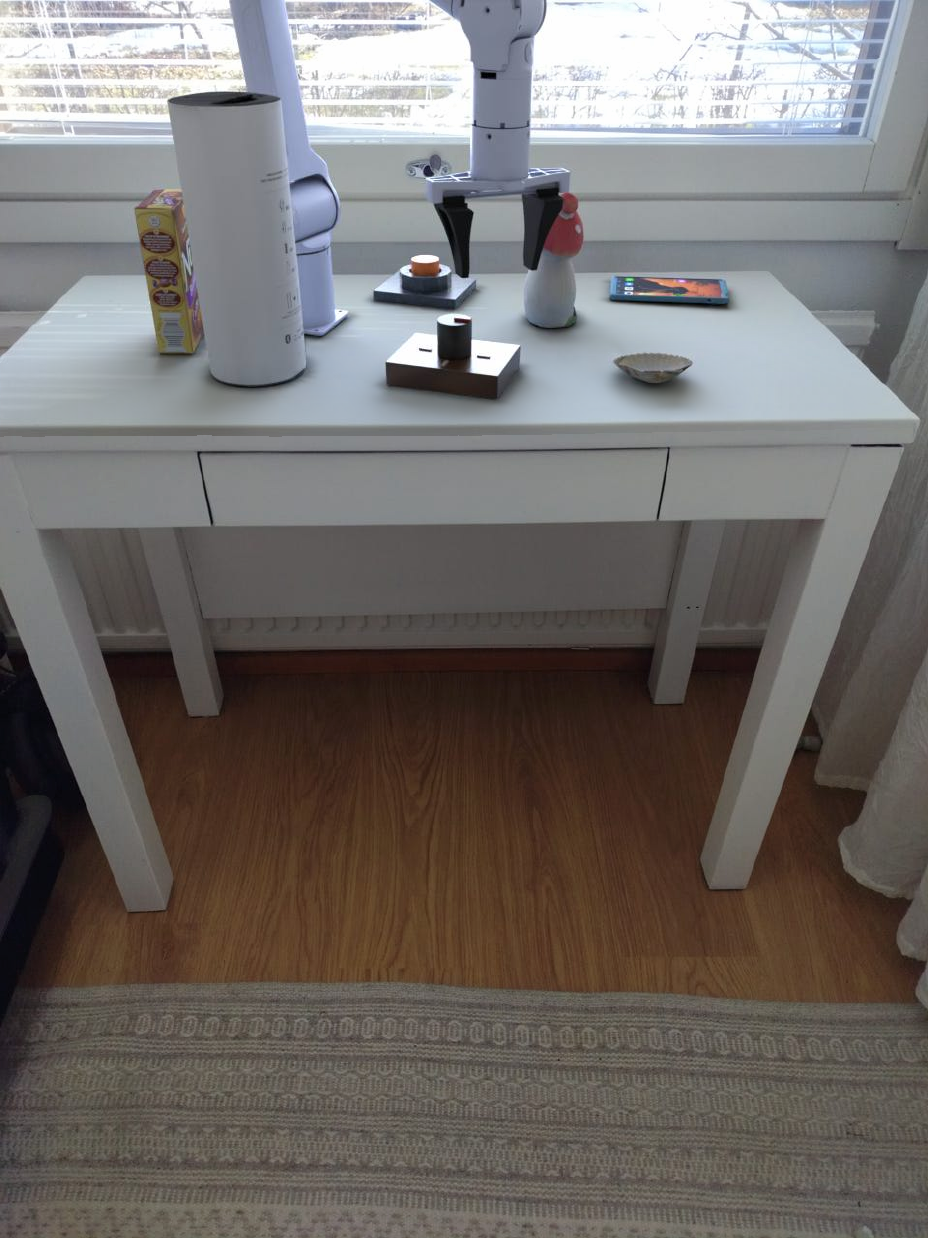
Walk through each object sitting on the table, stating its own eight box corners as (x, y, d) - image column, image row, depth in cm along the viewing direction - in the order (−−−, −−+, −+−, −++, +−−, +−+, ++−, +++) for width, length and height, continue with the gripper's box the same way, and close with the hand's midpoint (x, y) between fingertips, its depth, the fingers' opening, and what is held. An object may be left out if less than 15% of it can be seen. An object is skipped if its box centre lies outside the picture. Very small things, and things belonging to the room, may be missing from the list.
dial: (432, 356, 95) (431, 320, 93) (443, 344, 98) (443, 309, 96) (465, 360, 94) (465, 324, 92) (475, 348, 97) (476, 312, 95)
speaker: (256, 344, 105) (221, 81, 89) (329, 362, 100) (306, 89, 85) (189, 375, 97) (138, 94, 82) (265, 396, 93) (227, 103, 77)
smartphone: (611, 275, 124) (725, 278, 122) (610, 285, 125) (724, 289, 123) (609, 292, 117) (730, 295, 115) (608, 302, 118) (728, 306, 116)
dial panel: (386, 384, 96) (385, 360, 94) (415, 354, 103) (415, 330, 101) (497, 399, 93) (497, 374, 91) (519, 367, 100) (520, 343, 98)
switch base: (373, 299, 117) (372, 275, 116) (398, 279, 124) (397, 256, 123) (455, 308, 115) (455, 284, 113) (476, 287, 122) (476, 264, 120)
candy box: (197, 354, 102) (172, 207, 93) (158, 355, 102) (128, 208, 93) (212, 326, 109) (189, 187, 100) (175, 327, 109) (150, 187, 100)
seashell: (676, 381, 101) (607, 361, 101) (687, 354, 100) (617, 333, 99) (688, 399, 94) (614, 378, 93) (699, 370, 93) (624, 348, 92)
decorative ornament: (578, 334, 108) (589, 196, 99) (522, 332, 108) (529, 195, 99) (574, 307, 115) (584, 178, 106) (522, 306, 116) (528, 177, 107)
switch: (407, 275, 117) (407, 261, 116) (417, 267, 120) (416, 253, 119) (434, 278, 116) (434, 263, 115) (443, 270, 119) (443, 256, 118)
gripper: (443, 135, 82) (443, 290, 90) (588, 126, 86) (576, 275, 94) (417, 122, 87) (420, 270, 95) (556, 114, 91) (547, 256, 99)
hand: (496, 271), depth 95 cm, fingers open, 7 cm apart
